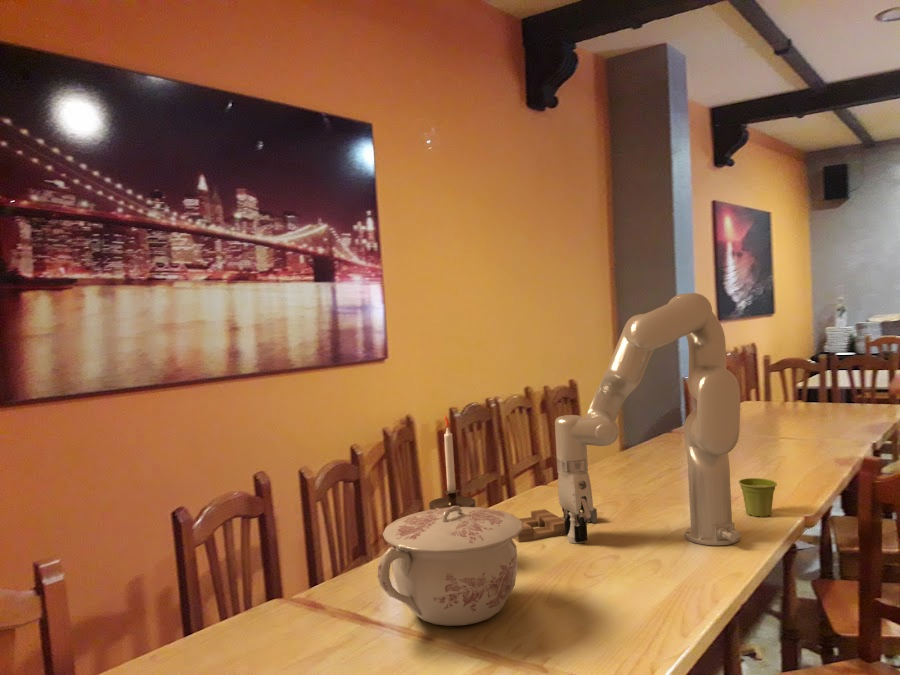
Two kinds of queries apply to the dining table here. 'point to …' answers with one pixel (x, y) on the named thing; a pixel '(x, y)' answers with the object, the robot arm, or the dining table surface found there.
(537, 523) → the mount
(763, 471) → the dining table surface
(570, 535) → the rook chess piece
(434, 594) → the chamber pot
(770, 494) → the plant pot
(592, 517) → the lock pin
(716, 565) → the dining table surface
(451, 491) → the candlestick
